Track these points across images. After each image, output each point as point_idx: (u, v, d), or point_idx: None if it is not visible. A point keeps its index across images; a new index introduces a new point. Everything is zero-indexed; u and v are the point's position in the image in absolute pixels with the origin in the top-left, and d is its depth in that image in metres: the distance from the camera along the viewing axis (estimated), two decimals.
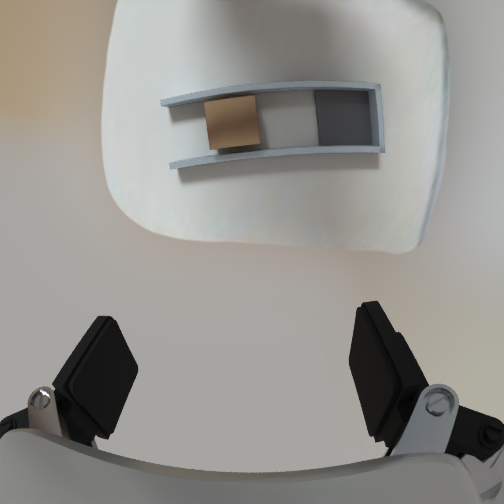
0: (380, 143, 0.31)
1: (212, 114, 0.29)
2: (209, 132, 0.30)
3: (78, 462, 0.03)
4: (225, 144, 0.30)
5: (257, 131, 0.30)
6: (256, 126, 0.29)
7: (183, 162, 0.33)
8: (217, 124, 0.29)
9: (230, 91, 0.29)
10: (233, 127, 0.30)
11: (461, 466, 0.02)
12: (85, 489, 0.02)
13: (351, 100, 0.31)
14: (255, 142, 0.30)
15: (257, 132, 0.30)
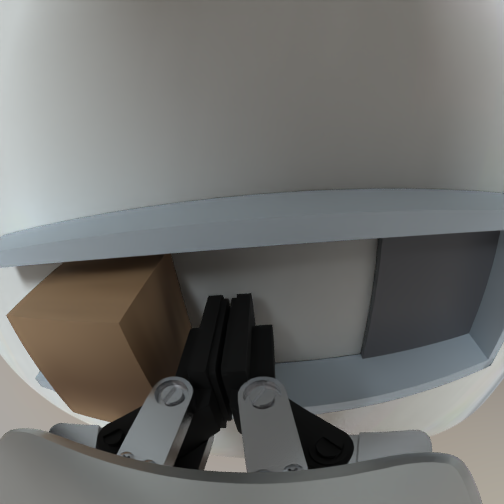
0: (492, 353, 0.10)
1: (36, 351, 0.08)
2: (53, 385, 0.08)
3: (78, 462, 0.03)
4: (97, 414, 0.09)
5: None
6: None
7: None
8: (58, 376, 0.08)
9: (79, 256, 0.08)
10: (97, 394, 0.08)
11: (461, 466, 0.02)
12: (85, 489, 0.02)
13: (468, 241, 0.10)
14: None
15: None
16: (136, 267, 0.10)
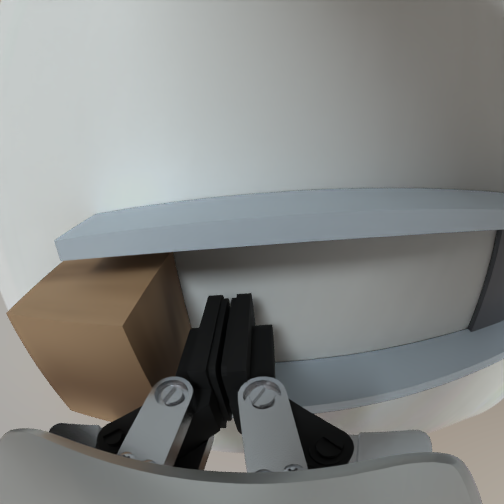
0: None
1: (36, 350, 0.08)
2: (51, 383, 0.08)
3: (78, 462, 0.03)
4: (95, 413, 0.09)
5: None
6: None
7: None
8: (57, 374, 0.08)
9: (330, 235, 0.07)
10: (97, 393, 0.08)
11: (461, 466, 0.02)
12: (85, 489, 0.02)
13: None
14: None
15: None
16: (138, 268, 0.10)
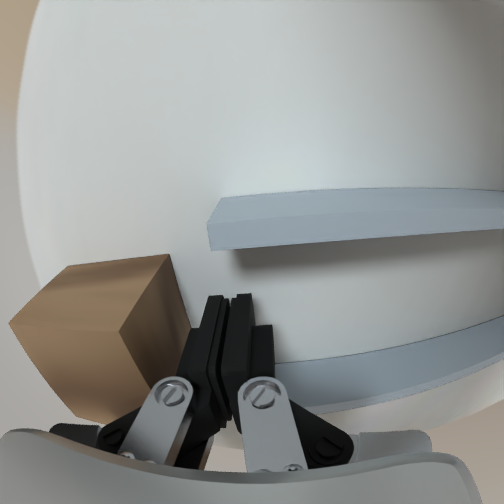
0: None
1: (39, 358, 0.08)
2: (55, 391, 0.09)
3: (78, 462, 0.03)
4: (99, 419, 0.09)
5: None
6: None
7: None
8: (60, 381, 0.08)
9: (478, 226, 0.07)
10: (99, 399, 0.08)
11: (461, 466, 0.02)
12: (85, 489, 0.02)
13: None
14: None
15: None
16: (135, 274, 0.10)
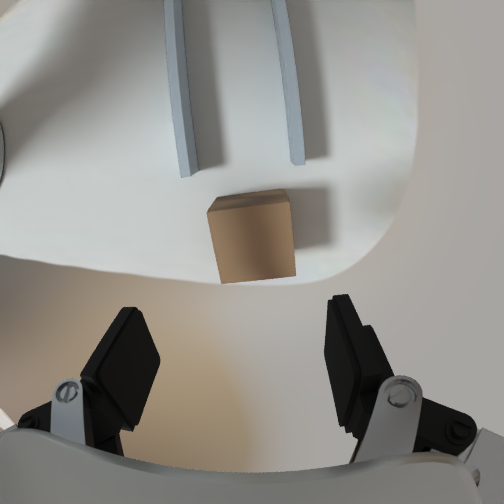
0: None
1: (240, 272, 0.22)
2: (269, 276, 0.22)
3: (78, 462, 0.03)
4: (288, 254, 0.21)
5: (268, 206, 0.19)
6: (260, 208, 0.19)
7: (295, 139, 0.19)
8: (256, 266, 0.21)
9: (175, 66, 0.17)
10: (262, 242, 0.20)
11: (461, 466, 0.02)
12: (85, 489, 0.02)
13: None
14: (287, 209, 0.19)
15: (270, 206, 0.19)
16: None
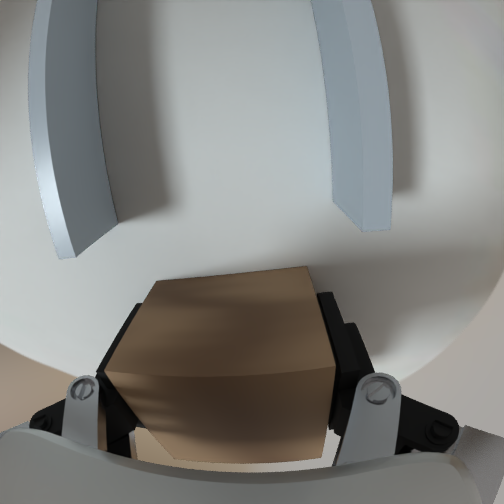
0: None
1: (208, 455, 0.08)
2: (266, 461, 0.08)
3: (78, 462, 0.03)
4: (312, 441, 0.07)
5: (270, 379, 0.06)
6: (244, 381, 0.06)
7: (369, 151, 0.06)
8: (240, 452, 0.08)
9: None
10: (252, 431, 0.07)
11: (461, 466, 0.02)
12: (85, 489, 0.02)
13: None
14: (325, 381, 0.06)
15: (275, 378, 0.06)
16: None
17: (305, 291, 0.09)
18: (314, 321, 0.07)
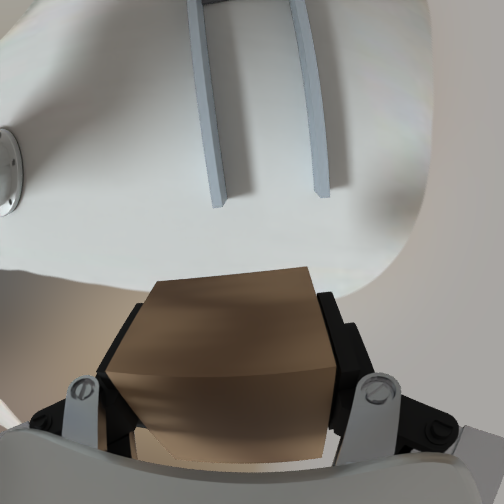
0: None
1: (208, 455, 0.08)
2: (267, 461, 0.08)
3: (78, 462, 0.03)
4: (313, 441, 0.07)
5: (271, 379, 0.06)
6: (245, 381, 0.06)
7: (321, 173, 0.21)
8: (240, 452, 0.08)
9: (205, 98, 0.19)
10: (252, 431, 0.07)
11: (461, 466, 0.02)
12: (85, 489, 0.02)
13: None
14: (326, 381, 0.06)
15: (276, 378, 0.06)
16: None
17: (306, 292, 0.09)
18: (315, 322, 0.07)
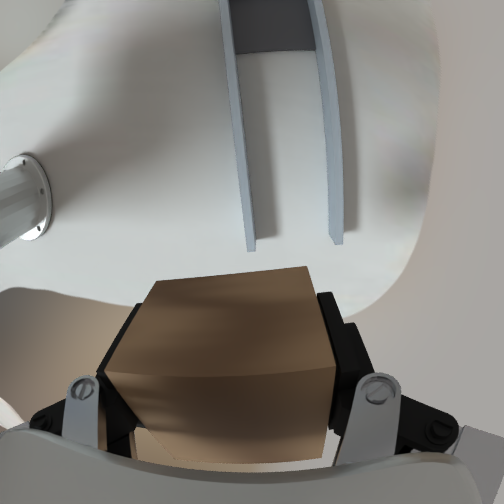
0: None
1: (208, 455, 0.08)
2: (266, 461, 0.08)
3: (78, 462, 0.03)
4: (312, 441, 0.07)
5: (270, 379, 0.06)
6: (244, 381, 0.06)
7: (337, 226, 0.26)
8: (240, 452, 0.08)
9: (243, 158, 0.23)
10: (252, 431, 0.07)
11: (461, 466, 0.02)
12: (85, 489, 0.02)
13: (246, 11, 0.19)
14: (326, 381, 0.06)
15: (276, 378, 0.06)
16: None
17: (305, 291, 0.09)
18: (314, 321, 0.07)
